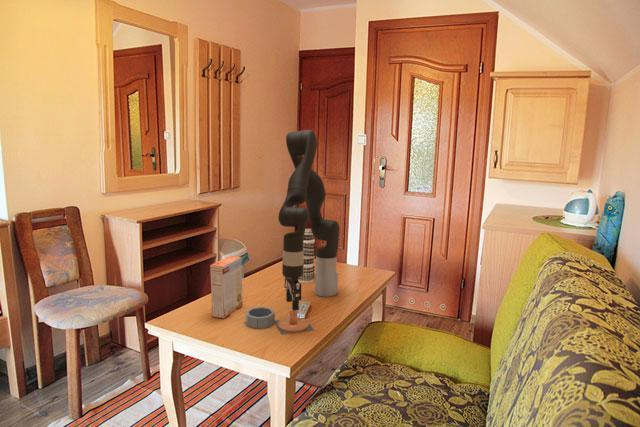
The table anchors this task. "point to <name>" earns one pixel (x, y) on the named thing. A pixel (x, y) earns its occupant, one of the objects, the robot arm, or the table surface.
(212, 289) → the cracker box
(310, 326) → the mat
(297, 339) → the table surface
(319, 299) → the table surface
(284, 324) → the lid
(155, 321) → the table surface
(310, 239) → the decorative candle
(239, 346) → the table surface
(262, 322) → the bowl
